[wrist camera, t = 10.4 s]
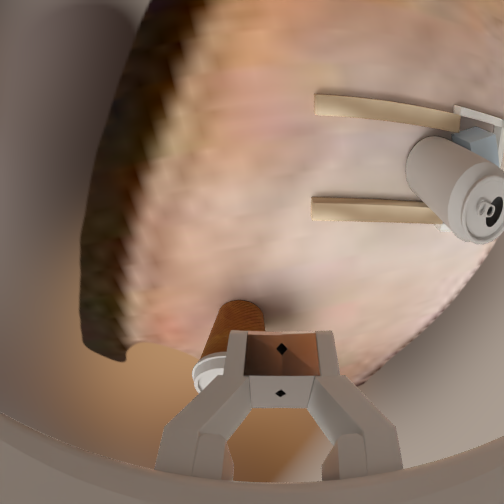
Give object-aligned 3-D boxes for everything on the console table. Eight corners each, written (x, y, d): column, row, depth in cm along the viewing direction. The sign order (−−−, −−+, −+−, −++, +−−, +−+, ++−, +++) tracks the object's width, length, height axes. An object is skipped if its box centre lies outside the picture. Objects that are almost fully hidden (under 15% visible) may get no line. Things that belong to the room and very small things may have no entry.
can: (445, 203, 30) (499, 257, 20) (394, 189, 30) (444, 245, 20) (463, 145, 26) (530, 184, 16) (411, 125, 26) (476, 156, 16)
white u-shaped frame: (453, 104, 24) (461, 106, 23) (500, 118, 23) (507, 121, 22) (434, 225, 32) (439, 231, 31) (478, 227, 31) (484, 233, 30)
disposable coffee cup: (268, 286, 38) (266, 362, 28) (279, 335, 43) (280, 406, 33) (197, 294, 40) (177, 366, 30) (217, 341, 45) (205, 409, 34)
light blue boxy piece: (450, 134, 26) (469, 142, 23) (475, 126, 25) (495, 134, 22) (457, 166, 28) (475, 177, 24) (480, 157, 27) (499, 168, 23)
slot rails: (314, 93, 26) (316, 94, 24) (453, 113, 25) (460, 115, 23) (310, 214, 33) (312, 220, 31) (436, 218, 31) (442, 224, 30)
